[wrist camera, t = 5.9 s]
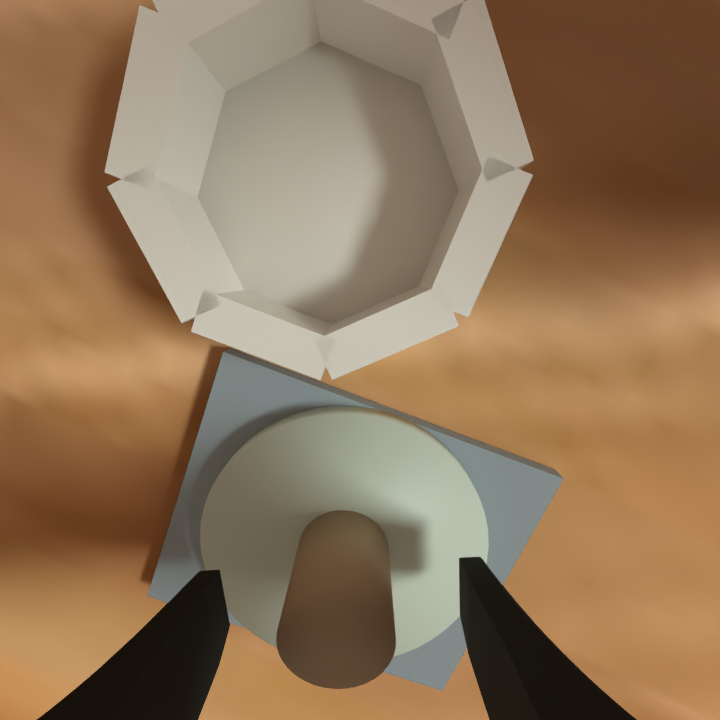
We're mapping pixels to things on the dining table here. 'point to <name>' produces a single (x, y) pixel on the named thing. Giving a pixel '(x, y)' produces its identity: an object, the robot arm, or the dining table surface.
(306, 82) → the octagonal storage bin
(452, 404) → the dining table surface
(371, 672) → the cover
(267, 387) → the mat
